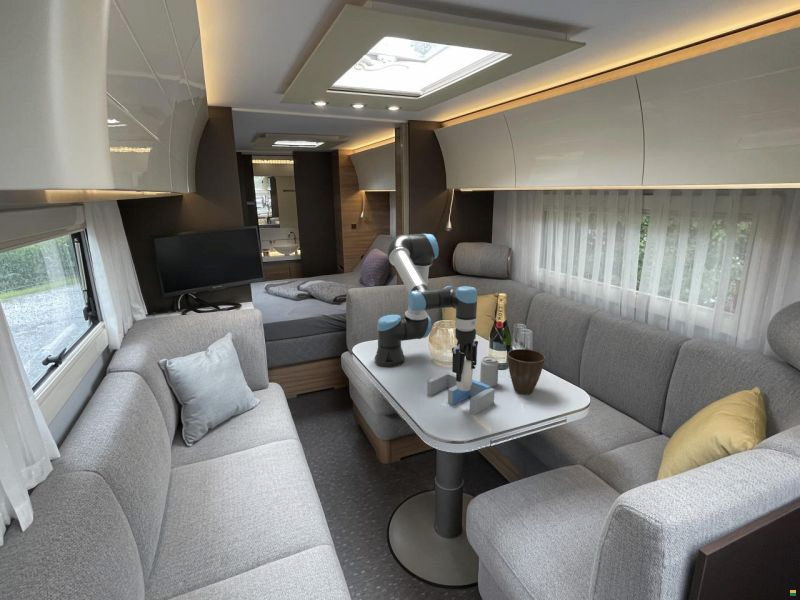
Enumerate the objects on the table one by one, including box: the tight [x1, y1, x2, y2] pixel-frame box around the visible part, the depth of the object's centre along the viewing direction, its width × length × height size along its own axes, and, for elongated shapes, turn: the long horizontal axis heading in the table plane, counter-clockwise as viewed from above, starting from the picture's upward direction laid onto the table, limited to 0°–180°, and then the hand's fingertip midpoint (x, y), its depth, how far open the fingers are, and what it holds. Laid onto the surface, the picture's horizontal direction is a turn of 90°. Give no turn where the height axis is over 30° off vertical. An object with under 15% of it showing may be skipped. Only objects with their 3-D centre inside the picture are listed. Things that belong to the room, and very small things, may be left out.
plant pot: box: [507, 348, 546, 395], centre depth 166 cm, size 15×15×16 cm
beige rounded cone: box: [459, 358, 471, 391], centre depth 152 cm, size 5×5×11 cm
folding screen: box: [426, 371, 496, 416], centre depth 161 cm, size 24×13×7 cm, turn 44°
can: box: [479, 355, 499, 388], centre depth 173 cm, size 8×8×12 cm
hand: (464, 386), depth 153 cm, fingers closed on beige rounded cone, 5 cm apart
